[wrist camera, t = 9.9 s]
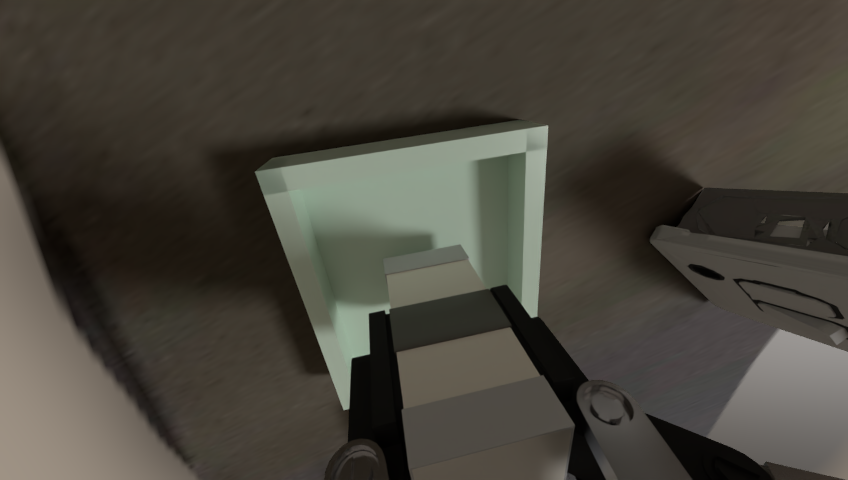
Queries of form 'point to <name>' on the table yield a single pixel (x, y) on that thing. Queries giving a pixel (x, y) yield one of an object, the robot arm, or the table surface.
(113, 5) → the table surface
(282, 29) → the table surface
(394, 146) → the parts tray
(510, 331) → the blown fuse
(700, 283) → the electrical switch
